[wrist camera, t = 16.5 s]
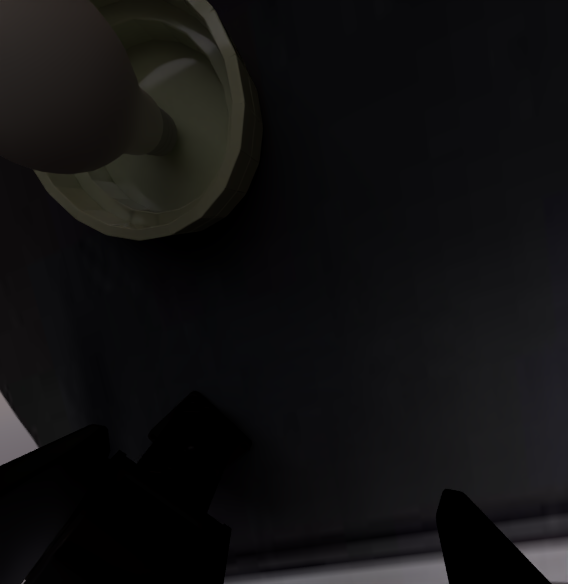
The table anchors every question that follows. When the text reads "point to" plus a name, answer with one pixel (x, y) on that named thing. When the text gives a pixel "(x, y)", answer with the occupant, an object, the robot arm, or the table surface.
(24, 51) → the lightbulb
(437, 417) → the table surface
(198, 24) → the bowl
